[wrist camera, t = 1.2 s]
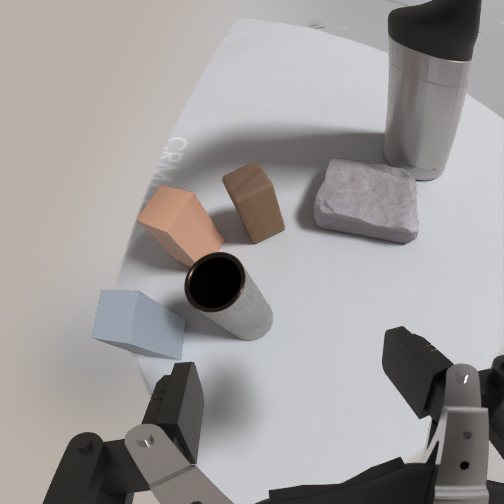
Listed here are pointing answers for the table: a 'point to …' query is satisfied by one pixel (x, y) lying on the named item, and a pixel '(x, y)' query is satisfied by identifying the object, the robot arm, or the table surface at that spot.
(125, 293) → the slate-blue block
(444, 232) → the table surface
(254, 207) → the wooden block
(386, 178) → the stone block
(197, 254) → the terracotta block
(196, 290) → the planter
